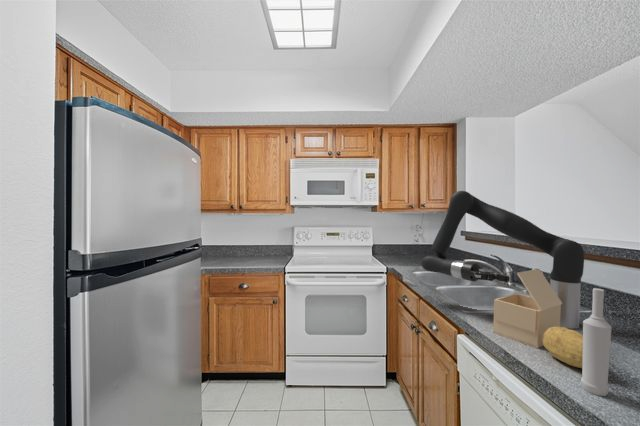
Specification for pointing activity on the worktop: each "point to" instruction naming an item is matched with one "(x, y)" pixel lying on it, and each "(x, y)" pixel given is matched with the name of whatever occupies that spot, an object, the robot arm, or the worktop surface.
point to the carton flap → (539, 289)
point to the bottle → (596, 348)
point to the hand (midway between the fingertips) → (508, 279)
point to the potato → (564, 345)
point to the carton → (523, 319)
